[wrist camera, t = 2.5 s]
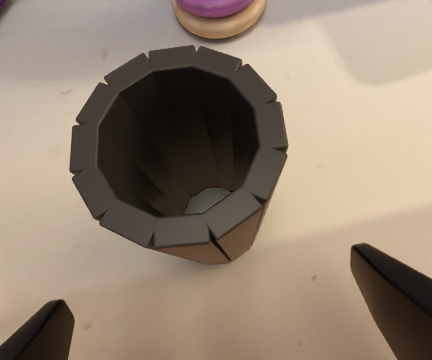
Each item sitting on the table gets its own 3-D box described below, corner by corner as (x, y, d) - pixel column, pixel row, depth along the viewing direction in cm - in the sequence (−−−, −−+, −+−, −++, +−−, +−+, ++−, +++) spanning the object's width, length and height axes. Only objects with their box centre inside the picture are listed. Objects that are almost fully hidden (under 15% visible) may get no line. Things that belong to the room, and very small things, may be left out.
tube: (277, 228, 20) (335, 155, 8) (203, 282, 19) (137, 298, 7) (225, 161, 22) (204, 14, 9) (156, 209, 21) (35, 117, 9)
